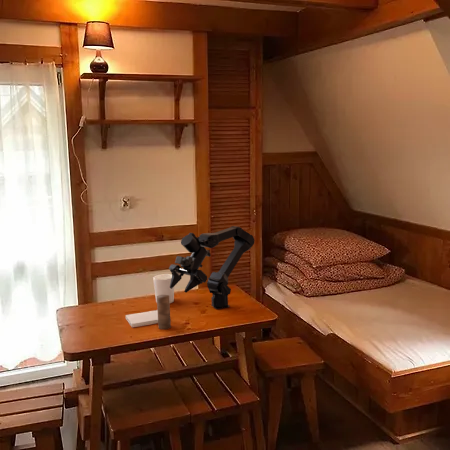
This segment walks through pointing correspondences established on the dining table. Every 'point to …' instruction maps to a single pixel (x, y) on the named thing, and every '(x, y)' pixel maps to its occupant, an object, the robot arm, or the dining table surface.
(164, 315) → the walnut roller
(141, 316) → the stone slab
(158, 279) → the white cylinder
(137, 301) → the dining table surface
